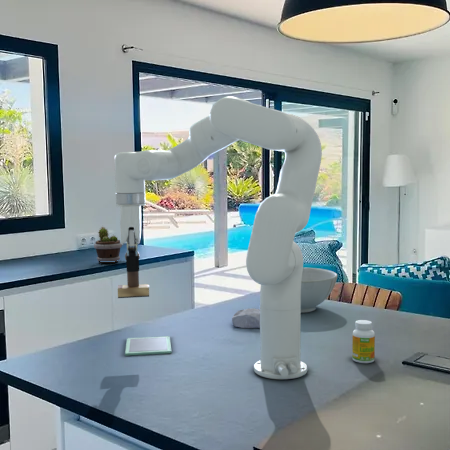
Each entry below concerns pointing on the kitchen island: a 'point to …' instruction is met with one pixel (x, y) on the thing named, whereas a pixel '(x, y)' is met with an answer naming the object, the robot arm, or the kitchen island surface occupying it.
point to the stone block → (247, 318)
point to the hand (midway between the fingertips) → (132, 269)
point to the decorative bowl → (315, 287)
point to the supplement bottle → (363, 342)
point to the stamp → (133, 286)
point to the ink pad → (148, 345)
